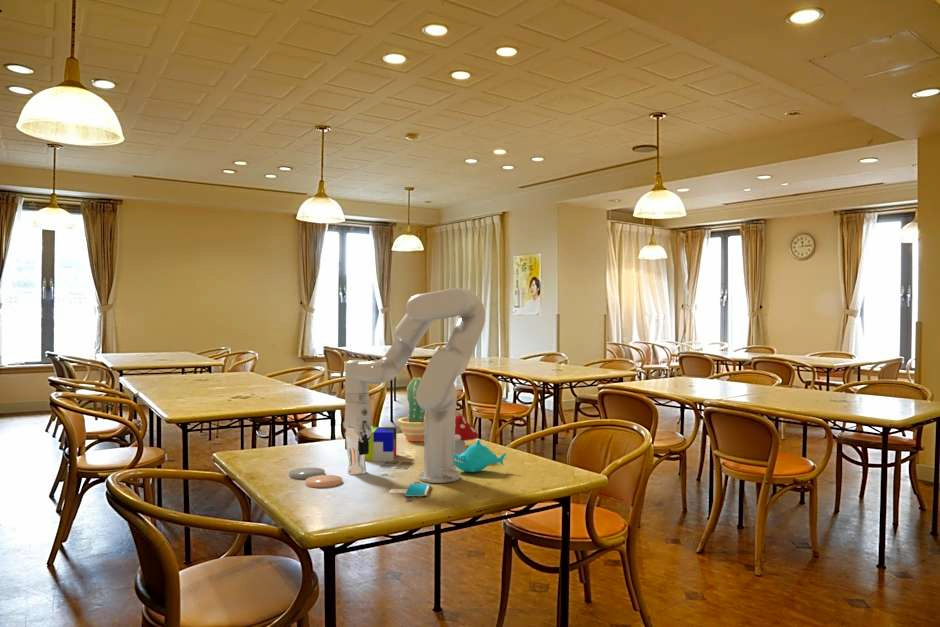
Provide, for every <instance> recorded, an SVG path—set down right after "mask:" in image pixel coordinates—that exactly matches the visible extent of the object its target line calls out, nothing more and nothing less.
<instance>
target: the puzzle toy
mask: <svg viewBox="0 0 940 627" xmlns="http://www.w3.org/2000/svg"><path fill="white" fill-rule="evenodd" d="M371 430H372V432H371V437H370V441H369V453H368V454H366V458H365V462H366V461H367V462H393V461H394V459H395V458H396V457H397V427H394V426H393V427H392V426H387V427H385V426H377V427H376V426H371Z"/></svg>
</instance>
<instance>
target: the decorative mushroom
mask: <svg viewBox="0 0 940 627" xmlns="http://www.w3.org/2000/svg"><path fill="white" fill-rule="evenodd" d="M479 437H480V436H479V434H478V432H477V431H476V430H475V428H474V427H472V425H470V424H469V422H468V421H467V419H466V417H465V416H464V415H461V414H458V415H455V454H457V455H461V453H464V452H465V451H466V449H467V446H466V442H467V441H474V440H476V439H479Z"/></svg>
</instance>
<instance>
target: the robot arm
mask: <svg viewBox="0 0 940 627" xmlns="http://www.w3.org/2000/svg"><path fill="white" fill-rule="evenodd" d="M405 311H406V313H405V315H404V316H403V317H402V319H401V320H400V321H399V322H398V324H396V326H395V328H394V330H393V338H394V339H393V342H392V344H391V346H390V347H389V349H388V350H387V351H386V353H385V354H384V355H383V357H382V358H380V359H377V360H376V359H375V360H371V361H368V360H366V359H350V360H347V361H346V362H345V367H344V369H345V379H344V380H345V384H344V385H345V386H344V387H345V388H344V390H345V392H344V394H345V395H344V397H345V398H344V399H345V400H344V401H345V402H344V404H345V409H344V421H343V422H342V426H343V432H344V449H345V450H346V451H347V447H346V431H347V426H348V427H349V428H354V430H355V434H356V435H358V436H359V439H360V442H359V455H364V454H368V453H369V441H370V437H371V432H372V430H371V427H372V419H371V418H372V417H371V416H372V415H371V414H372V412H371V406H370V384H371V385H380V384H384V383H386V382H391V381H392V380H393V379H395V378H396V377H397V376H398V374H400V372H401V371H402V369H403V368H404V367H405V366H406V364H407V363H408V361H409V360H410V359H411V356H412V354H413V352H414V350H415V349H416V346H417V345H418V344H419V342H420V341H421V339H422V338H423V337H424V335H425V334H426V333H427V332H428V331H429V329H430V327H431V326H432V325H433V323H434V322H435V321H437V320H442V319H448V318H455V317H458V318H457V322H456V324H455V325H454V328H453V330H452V332H451V333H450V336H449V339H448V340H447V342H446V345H445V346H444V347H441V348H440V349H438V350H437V351H435V352H434V353H433V355H432V356H431V358H430V359H429V360H428V361H429V362H428V363H427V366H426V368H425V370H424V372H423V375H422V377H421V378H422V379H421V381H420V384H419V386H418V389H417V392H416V400H417V403H418V405H419V406H420V407H421V408H422V409H423V410H425V413H424V417H425V431H424V441H423V442H424V453H423V454H424V455H423V456H424V460H423V462H424V466H423V468H424V471H423V472H420V473H419V475H418V477H419V480H420V481H423V482H425V483H429V484H446V483H447V484H448V483H453V482H456V481H458V480H459V479H460V478H461V477H460V475H461V472H460V471H458V470H457V467H456V465H455V417H456V410H457V409H456V408H457V402H458V401H457V400H458V399H457V398H458V392H457V391H458V390H457V388H456V385H455V382H456V379H457V377H458V376H461V375H462V374H464V372H466V370H467V368H468V365H469V362H470V360H471V358H472V356H473V353H474V351H475V349H476V347H477V344H478V342H479V340H480V337H481V335H482V332H483V330H484V327H485V323H486V309H485V307H484V304H483V302H482V300H481V299H480V297H479V296H478V295H477V294H476V293H475V292H473V291H472V290H470V289H467V288H459V287H455V288H452V287H451V288H446V289H442V290H441V289H440V290H437V291H436V290H435V291H431V292H424V293H417V294H415V295H412V296H411V297H410V298H409V299H408V300H407V303H406V306H405ZM361 430H363V431H365V432H360V431H361ZM362 435H364V437H362Z"/></svg>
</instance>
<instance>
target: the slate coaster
mask: <svg viewBox="0 0 940 627" xmlns="http://www.w3.org/2000/svg"><path fill="white" fill-rule="evenodd" d="M325 472H326V471H325V469H323V468H320V467H299V468H295V469H292V470H290V471H289V472H288V476H289V478H291V479H293V480H306V479H307V478H309V477H313V476H319V475H326V474H325Z"/></svg>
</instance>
